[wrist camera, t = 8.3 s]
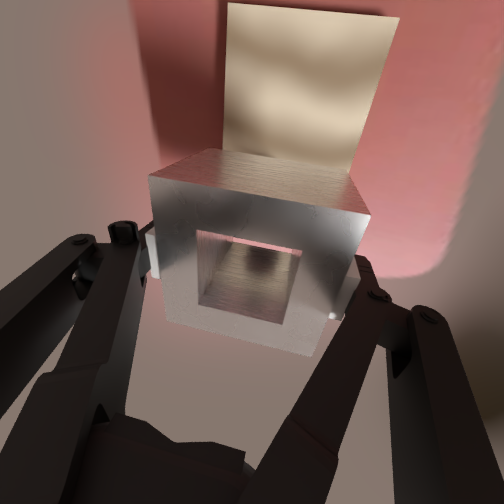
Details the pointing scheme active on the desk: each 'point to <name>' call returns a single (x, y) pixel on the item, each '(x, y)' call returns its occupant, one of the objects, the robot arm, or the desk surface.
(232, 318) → the gray cube
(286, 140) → the board
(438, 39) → the desk surface
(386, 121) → the desk surface
